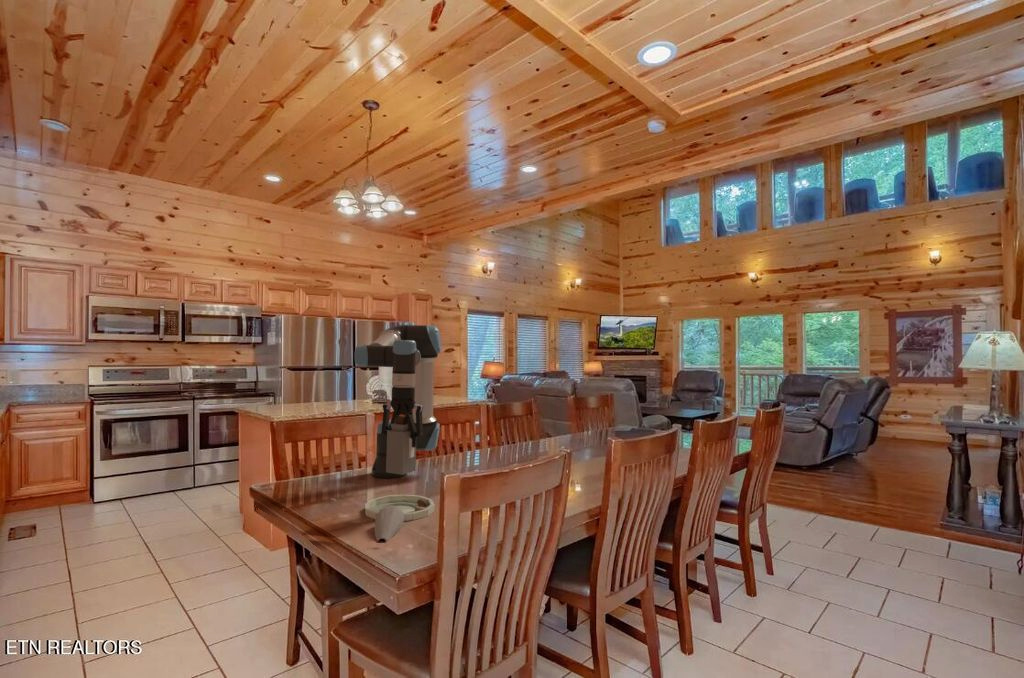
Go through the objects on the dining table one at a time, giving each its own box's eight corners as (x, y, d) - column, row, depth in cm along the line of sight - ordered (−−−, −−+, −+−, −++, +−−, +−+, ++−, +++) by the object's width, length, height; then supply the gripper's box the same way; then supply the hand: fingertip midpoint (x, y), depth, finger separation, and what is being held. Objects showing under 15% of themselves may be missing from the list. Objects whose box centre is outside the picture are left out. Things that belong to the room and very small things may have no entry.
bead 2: (416, 512, 167) (417, 506, 167) (425, 513, 167) (425, 507, 167) (413, 515, 165) (413, 508, 165) (421, 516, 164) (421, 509, 164)
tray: (384, 501, 182) (384, 492, 183) (442, 507, 178) (443, 497, 178) (352, 521, 161) (352, 510, 161) (417, 528, 156) (418, 517, 156)
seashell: (391, 559, 150) (401, 510, 161) (406, 547, 143) (416, 496, 154) (363, 551, 147) (375, 502, 158) (377, 539, 140) (389, 488, 150)
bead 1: (419, 504, 176) (419, 498, 176) (427, 505, 175) (427, 499, 175) (416, 507, 173) (416, 501, 173) (423, 507, 173) (424, 501, 173)
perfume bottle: (386, 472, 168) (387, 416, 169) (399, 468, 174) (401, 414, 175) (402, 474, 165) (404, 418, 165) (415, 470, 171) (417, 416, 171)
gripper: (371, 386, 169) (369, 456, 168) (426, 388, 165) (424, 460, 164) (381, 384, 176) (379, 452, 176) (435, 386, 172) (433, 456, 171)
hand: (401, 456), depth 170 cm, fingers closed on perfume bottle, 6 cm apart
